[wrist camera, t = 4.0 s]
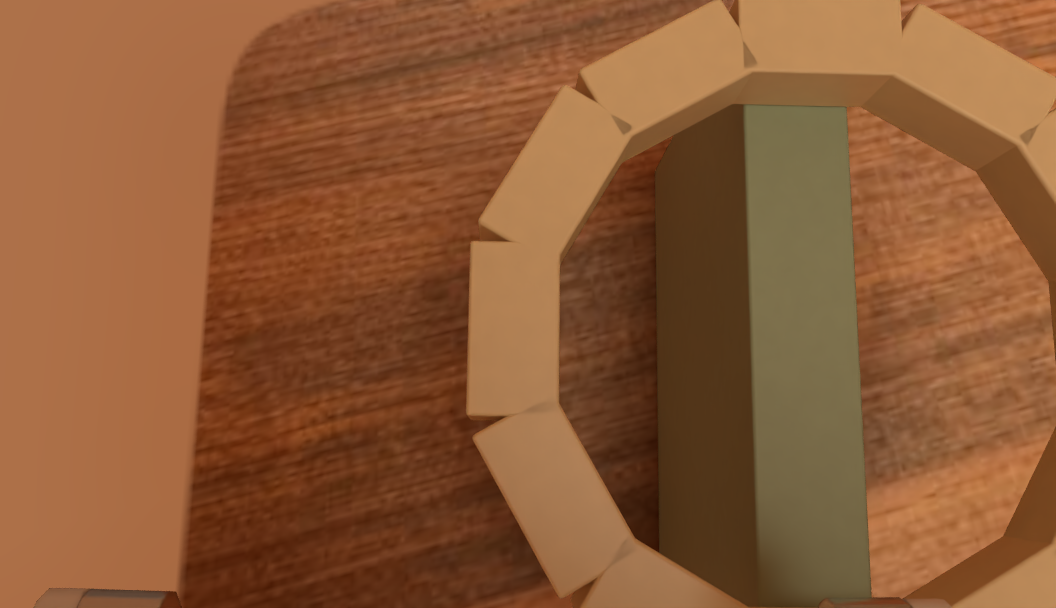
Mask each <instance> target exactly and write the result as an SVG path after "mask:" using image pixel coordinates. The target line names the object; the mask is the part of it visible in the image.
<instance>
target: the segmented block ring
mask: <svg viewBox="0 0 1056 608" xmlns="http://www.w3.org/2000/svg"><path fill="white" fill-rule="evenodd" d="M1055 99H1056V77H1054V76H1052V75H1051V74H1049V73H1047V72H1045V71H1043V70H1041V69H1040V68H1038V67H1036V66H1034V65H1032V64H1031V63H1029V62H1027V61H1025V60H1023V59H1021V58H1020V57H1018V56H1016V55H1014V54H1012V53H1010V52H1009V51H1007V50H1005V49H1003V48H1001V47H1000V46H998V45H996V44H994V43H992V42H990V41H989V40H987V39H985V38H983V37H981V36H979V35H978V34H976V33H974V32H972V31H970V30H968V29H967V28H965V27H963V26H961V25H959V24H958V23H956V22H954V21H952V20H950V19H948V18H947V17H945V16H943V15H941V14H939V13H937V12H936V11H934V10H932V9H930V8H928V7H927V6H925V5H923V4H917V5H916V6H915V7H914V8H913V9H912V10H911V11H910V12H909V14H908V15H907V16H906V17H905V18H904V19H903V20H902V21H901V6H900V0H735V1H734V3H733V5H732V7H731V9H730V11H729V12H728V10H727V8H726V7H725V5H724V4H723V2H722V0H713V1H711V2H709V3H707V4H705V5H704V6H702V7H700V8H698V9H696V10H694V11H692V12H690V13H688V14H686V15H684V16H682V17H680V18H678V19H676V20H675V21H673V22H671V23H669V24H667V25H665V26H663V27H661V28H659V29H657V30H655V31H653V32H651V33H649V34H647V35H646V36H644V37H642V38H640V39H638V40H636V41H634V42H632V43H630V44H628V45H626V46H624V47H622V48H620V49H618V50H617V51H615V52H613V53H611V54H609V55H607V56H605V57H603V58H601V59H599V60H597V61H595V62H593V63H591V64H590V65H588V66H586V67H584V68H582V69H581V70H580V71H579V74H578V79H577V84H576V89H575V90H574V89H572V88H571V87H569V86H567V85H564V86H562V87H561V88H560V90H559V91H558V93H557V94H556V96H555V98H554V99H553V101H552V102H551V104H550V106H549V107H548V109H547V110H546V112H545V114H544V115H543V117H542V118H541V120H540V121H539V123H538V125H537V126H536V128H535V129H534V131H533V133H532V134H531V136H530V137H529V139H528V141H527V142H526V144H525V145H524V147H523V149H522V150H521V152H520V153H519V155H518V156H517V158H516V160H515V161H514V163H513V164H512V166H511V168H510V169H509V171H508V172H507V174H506V176H505V177H504V179H503V180H502V182H501V184H500V185H499V187H498V188H497V190H496V192H495V193H494V195H493V196H492V198H491V199H490V201H489V203H488V204H487V206H486V207H485V209H484V211H483V212H482V214H481V215H480V217H479V219H478V227H479V237H480V241H472V242H471V244H470V273H469V313H468V353H467V392H466V414H467V416H468V417H469V418H470V419H471V420H499V421H497V422H495V423H493V424H492V425H490V426H488V427H486V428H484V429H483V430H481V431H479V432H477V433H476V434H474V435H473V441H474V443H475V445H476V447H477V449H478V450H479V452H480V454H481V456H482V458H483V460H484V461H485V463H486V465H487V467H488V469H489V471H490V472H491V474H492V476H493V478H494V480H495V482H496V484H497V485H498V487H499V489H500V491H501V493H502V495H503V496H504V498H505V500H506V502H507V504H508V506H509V507H510V509H511V511H512V513H513V515H514V517H515V518H516V520H517V522H518V524H519V526H520V528H521V530H522V531H523V533H524V535H525V537H526V539H527V541H528V542H529V544H530V546H531V548H532V550H533V552H534V553H535V555H536V557H537V559H538V561H539V563H540V564H541V566H542V568H543V570H544V572H545V574H546V576H547V577H548V579H549V581H550V583H551V585H552V587H553V588H554V590H555V592H556V594H557V596H558V597H559V598H565V597H566V596H568V595H570V594H571V593H573V592H574V594H573V596H572V597H571V601H570V603H571V605H572V607H573V608H818V607H748V606H746V605H744V604H743V603H741V602H739V601H738V600H736V599H734V598H733V597H731V596H729V595H728V594H726V593H725V592H723V591H721V590H720V589H718V588H716V587H715V586H713V585H711V584H710V583H708V582H706V581H705V580H703V579H701V578H700V577H698V576H696V575H695V574H693V573H692V572H690V571H688V570H687V569H685V568H683V567H682V566H680V565H678V564H677V563H675V562H673V561H672V560H670V559H668V558H667V557H665V556H663V555H662V554H660V553H658V552H657V551H655V550H654V549H652V548H650V547H649V546H647V545H645V544H644V543H642V542H640V541H639V540H637V539H635V537H634V535H633V534H632V532H631V530H630V528H629V527H628V525H627V523H626V521H625V519H624V518H623V516H622V514H621V512H620V511H619V509H618V507H617V505H616V503H615V502H614V500H613V498H612V496H611V495H610V493H609V491H608V489H607V487H606V486H605V484H604V482H603V480H602V479H601V477H600V475H599V473H598V471H597V470H596V468H595V466H594V464H593V462H592V461H591V459H590V457H589V455H588V454H587V452H586V450H585V448H584V446H583V445H582V443H581V441H580V439H579V438H578V436H577V434H576V432H575V430H574V429H573V427H572V425H571V423H570V422H569V420H568V418H567V416H566V414H565V413H564V411H563V409H562V407H561V406H560V404H559V354H560V265H561V263H562V261H563V260H564V258H565V256H566V255H567V253H568V251H569V250H570V248H571V246H572V245H573V243H574V241H575V240H576V238H577V236H578V235H579V233H580V231H581V230H582V228H583V226H584V225H585V223H586V221H587V220H588V218H589V217H590V215H591V213H592V212H593V210H594V208H595V207H596V205H597V203H598V202H599V200H600V198H601V197H602V195H603V193H604V192H605V190H606V188H607V187H608V185H609V183H610V182H611V180H612V178H613V177H614V175H615V173H616V172H617V170H618V169H619V167H620V165H621V164H622V163H623V162H624V161H626V160H628V159H630V158H632V157H634V156H636V155H638V154H639V153H641V152H643V151H645V150H647V149H649V148H651V147H653V146H654V145H656V144H658V143H660V142H662V141H664V140H666V139H668V138H669V137H671V136H673V135H675V134H677V133H679V132H681V131H683V130H684V129H686V128H688V127H690V126H692V125H694V124H696V123H698V122H699V121H701V120H703V119H705V118H707V117H709V116H711V115H712V114H714V113H716V112H718V111H720V110H722V109H724V108H726V107H727V106H729V105H731V104H752V105H794V106H836V107H862V108H863V109H865V110H867V111H869V112H870V113H872V114H874V115H876V116H878V117H879V118H881V119H883V120H885V121H887V122H888V123H890V124H892V125H894V126H896V127H897V128H899V129H901V130H903V131H904V132H906V133H908V134H910V135H912V136H913V137H915V138H917V139H919V140H921V141H922V142H924V143H926V144H928V145H929V146H931V147H933V148H935V149H937V150H938V151H940V152H942V153H944V154H946V155H947V156H949V157H951V158H953V159H955V160H956V161H958V162H960V163H962V164H963V165H965V166H967V167H969V168H971V169H972V170H974V171H976V172H977V174H978V175H979V177H980V178H981V180H982V181H983V183H984V184H985V186H986V188H987V189H988V191H989V192H990V194H991V195H992V197H993V198H994V200H995V201H996V203H997V204H998V206H999V207H1000V209H1001V210H1002V212H1003V213H1004V215H1005V216H1006V218H1007V219H1008V221H1009V222H1010V224H1011V225H1012V227H1013V228H1014V230H1015V231H1016V233H1017V234H1018V236H1019V237H1020V239H1021V240H1022V242H1023V243H1024V245H1025V246H1026V248H1027V249H1028V251H1029V252H1030V254H1031V256H1032V257H1033V259H1034V260H1035V262H1036V263H1037V265H1038V266H1039V268H1040V269H1041V271H1042V272H1043V274H1044V275H1045V277H1046V278H1047V280H1048V281H1049V292H1050V304H1051V315H1052V326H1053V337H1054V349H1055V360H1056V109H1054V110H1052V111H1050V109H1051V107H1052V105H1053V103H1054V101H1055ZM1049 111H1050V112H1049ZM903 599H944V600H945V601H946V602H947V603H948V604H949V605H950V606H951V607H952V608H1056V427H1055V429H1054V432H1053V434H1052V436H1051V438H1050V440H1049V442H1048V444H1047V446H1046V448H1045V450H1044V452H1043V454H1042V457H1041V459H1040V461H1039V463H1038V465H1037V467H1036V469H1035V471H1034V473H1033V475H1032V477H1031V480H1030V482H1029V484H1028V486H1027V488H1026V490H1025V492H1024V494H1023V496H1022V498H1021V500H1020V502H1019V505H1018V507H1017V509H1016V511H1015V513H1014V515H1013V517H1012V519H1011V521H1010V523H1009V525H1008V527H1007V530H1006V532H1005V534H1004V536H1003V537H1001V538H1000V539H998V540H997V541H995V542H993V543H992V544H990V545H989V546H987V547H985V548H984V549H982V550H980V551H979V552H977V553H976V554H974V555H972V556H971V557H969V558H968V559H966V560H964V561H963V562H961V563H960V564H958V565H956V566H955V567H953V568H951V569H950V570H948V571H947V572H945V573H943V574H942V575H940V576H939V577H937V578H935V579H934V580H932V581H930V582H929V583H927V584H926V585H924V586H922V587H921V588H919V589H918V590H916V591H914V592H913V593H911V594H910V595H908V596H906V597H905V598H903Z"/></svg>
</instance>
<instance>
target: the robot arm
mask: <svg viewBox="0 0 1056 608" xmlns="http://www.w3.org/2000/svg"><path fill="white" fill-rule="evenodd" d="M34 608H182V606H181V604H180V601H179V598H178V595H177V593H176V592H173V591H139V590H107V589H106V590H105V589H75V588H74V589H73V588H70V589H69V588H49V589H48V590H47V591H46V592H45V593H44V594H43V595H42V596H41V597H40V598H39V599H38V600H37V602H36V604H35V606H34ZM818 608H952V607H951V606H950V605H949V604H948V603H947V602H946V601H945V600H944V599H901V598H899V597H885V598H825V599H823V600H822V601H821V602H820V603H819V606H818Z"/></svg>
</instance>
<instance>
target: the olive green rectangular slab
mask: <svg viewBox="0 0 1056 608" xmlns="http://www.w3.org/2000/svg"><path fill="white" fill-rule="evenodd" d="M655 231H656V316H657V402H658V487H659V553H660V554H662V555H663V556H665V557H667V558H668V559H670V560H672V561H673V562H675V563H677V564H678V565H680V566H682V567H683V568H685V569H687V570H688V571H690V572H692V573H693V574H695V575H696V576H698V577H700V578H701V579H703V580H705V581H706V582H708V583H710V584H711V585H713V586H715V587H716V588H718V589H720V590H721V591H723V592H725V593H726V594H728V595H729V596H731V597H733V598H734V599H736V600H738V601H739V602H741V603H743V604H744V605H746V606H748V607H818V606H819V603H820V602H821V601H822V600H823V599H825V598H872V597H871V577H870V558H869V538H868V519H867V499H866V479H865V460H864V440H863V421H862V401H861V381H860V362H859V342H858V323H857V303H856V283H855V264H854V244H853V225H852V205H851V185H850V166H849V146H848V127H847V107H836V106H794V105H752V104H731V105H729V106H727V107H726V108H724V109H722V110H720V111H718V112H716V113H714V114H712V115H711V116H709V117H707V118H705V119H703V120H701V121H699V122H698V123H696V124H694V125H692V126H690V127H688V128H686V129H684V130H683V131H681V132H679V133H677V134H675V135H674V136H673V138H672V140H671V142H670V144H669V146H668V147H667V149H666V151H665V153H664V155H663V157H662V159H661V161H660V163H659V165H658V167H657V168H656V170H655Z"/></svg>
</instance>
